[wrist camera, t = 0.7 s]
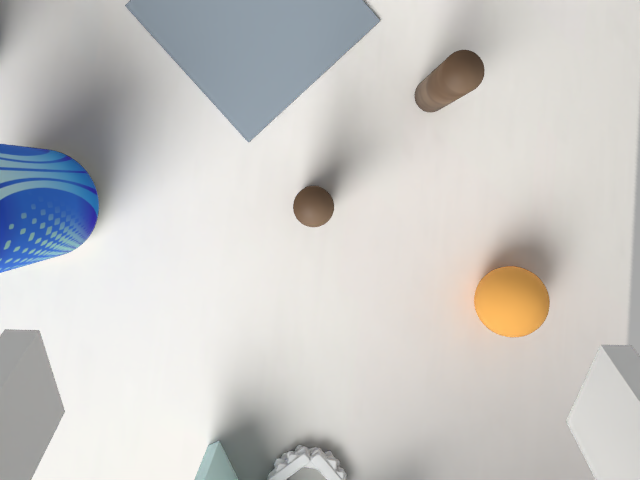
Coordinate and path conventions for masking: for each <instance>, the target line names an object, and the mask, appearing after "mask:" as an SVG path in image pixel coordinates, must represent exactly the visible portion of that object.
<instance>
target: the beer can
mask: <svg viewBox="0 0 640 480" xmlns="http://www.w3.org/2000/svg"><path fill="white" fill-rule="evenodd" d="M98 213H99V199H98V194H97V190H96V187H95V185H94V182H93V180H92V179H91V177H90V175H89V174H88V172H87V171H86V170H85V169H84V168H83V167H82V166H81V165H80V164H79V163H78V162H77V161H75V160H74V159H72V158H71V157H69V156H67V155H65V154H63V153H60V152H57V151H53V150H47V149H38V148H30V147H22V146H14V145H6V144H0V273H1V272H4V271H8V270H11V269H15V268H18V267H22V266H25V265H29V264H32V263H36V262H39V261H43V260H46V259H50V258H53V257H56V256H60V255H63V254H66V253H69V252H71V251H73V250H75V249H76V248H78V247H79V246H80V245H81V244H83V243H84V242H85V241H86V240H87V238H88V237H89V236H90V234H91V233H92V231H93V229H94V227H95V225H96V222H97V219H98Z"/></svg>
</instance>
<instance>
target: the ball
mask: <svg viewBox="0 0 640 480" xmlns="http://www.w3.org/2000/svg"><path fill="white" fill-rule="evenodd" d="M474 304H475V309H476V312H477V315H478V317H479V319H480V320H481V321H482V323H483V324H484V325H485V326H486V327H487V328H488V329H490V330H491V331H493V332H495V333H496V334H499V335H502V336H506V337H521V336H525V335H528V334H530V333H532V332H534V331H535V330H536V329H538V328H539V327H540V326H541V325H542V324H543V322H544V321H545V319H546V317H547V315H548V311H549V304H550V301H549V295H548V292H547V289H546V287H545V285H544V284H543V282H542V281H541V280H540V279H539V278H538V277H537V276H536V275H535V274H533V273H532V272H530V271H528V270H526V269H524V268H520V267H515V266H506V267H500V268H497V269H495V270H493V271H491V272H489V273H488V274H487V275H485V276H484V277H483V278H482V280H481V281H480V282H479V284H478V286H477V288H476V292H475V297H474Z"/></svg>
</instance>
